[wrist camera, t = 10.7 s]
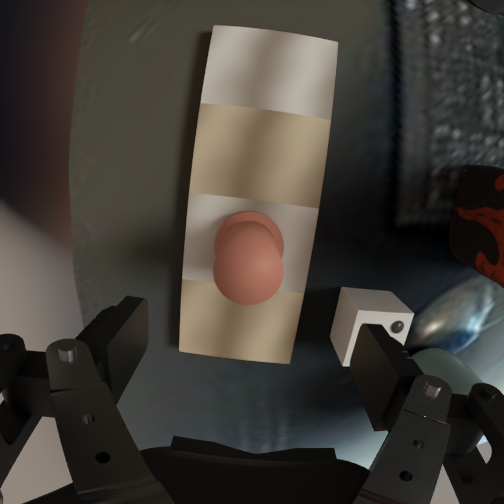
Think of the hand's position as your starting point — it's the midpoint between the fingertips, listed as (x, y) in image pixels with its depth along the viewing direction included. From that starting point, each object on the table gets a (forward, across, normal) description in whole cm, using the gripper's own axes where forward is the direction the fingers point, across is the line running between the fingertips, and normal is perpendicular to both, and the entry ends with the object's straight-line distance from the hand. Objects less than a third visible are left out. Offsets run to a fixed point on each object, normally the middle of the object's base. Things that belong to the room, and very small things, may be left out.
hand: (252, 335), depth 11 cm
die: (+15, -10, +6) cm, 19 cm away
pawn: (+14, 0, 0) cm, 14 cm away
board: (+15, 0, -4) cm, 16 cm away
